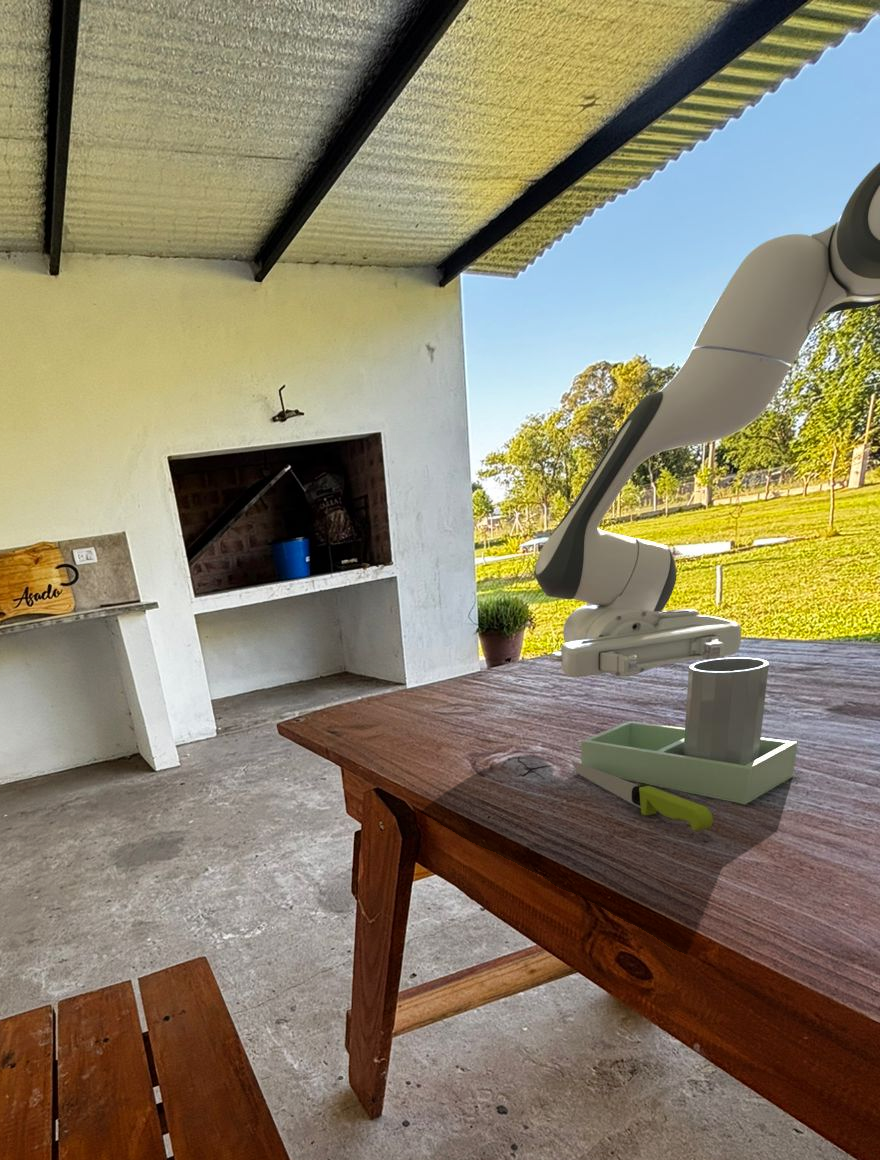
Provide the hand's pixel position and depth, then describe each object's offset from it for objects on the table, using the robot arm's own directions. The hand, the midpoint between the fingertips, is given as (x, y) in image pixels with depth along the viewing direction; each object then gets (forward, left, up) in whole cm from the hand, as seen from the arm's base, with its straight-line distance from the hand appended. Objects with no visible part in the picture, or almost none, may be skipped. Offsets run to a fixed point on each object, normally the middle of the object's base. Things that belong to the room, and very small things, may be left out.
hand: (673, 658), depth 72 cm
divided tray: (+7, +5, -12) cm, 14 cm away
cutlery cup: (+7, +9, -11) cm, 16 cm away
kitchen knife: (+17, +5, -12) cm, 21 cm away
